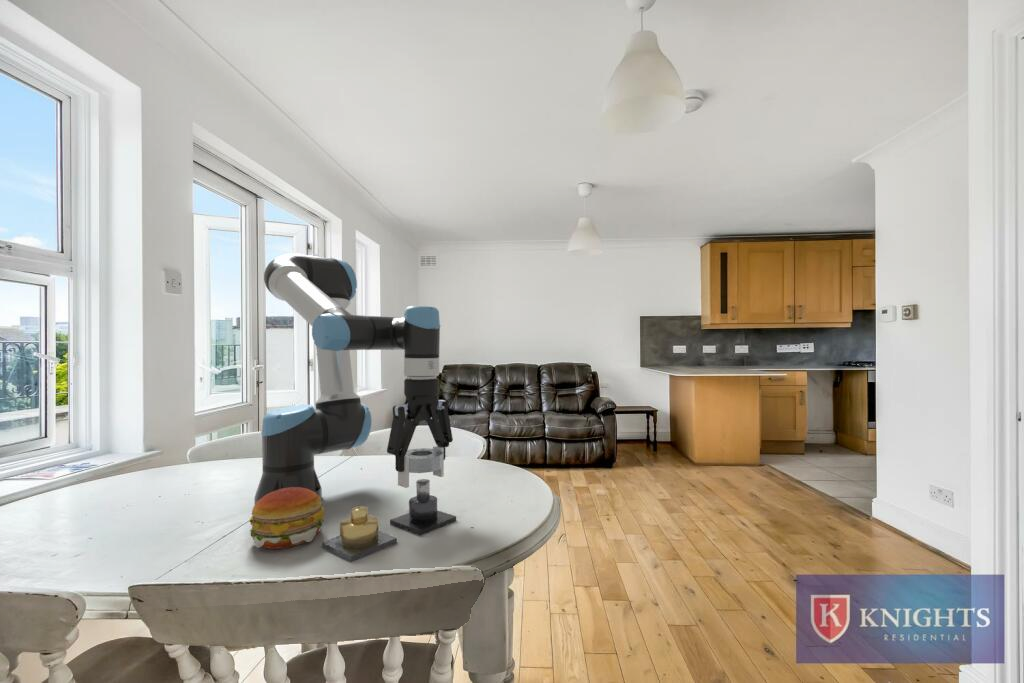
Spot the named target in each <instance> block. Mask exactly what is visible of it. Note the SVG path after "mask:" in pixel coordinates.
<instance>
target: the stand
mask: <svg viewBox="0 0 1024 683" xmlns="http://www.w3.org/2000/svg"><path fill="white" fill-rule="evenodd" d="M430 481H431V480H430V479H426V478H422V479H421V478H420V479H417V480H416V481H415V482H416V496H413V497H410V499H409V500H408V501H409V502H408V513H405V514H402V515H400V516H397V517H394V518H391V519H389V525H390V526H393V527H396V528H399V529H402V530H404V531H406V532H410V533H412V534H414V535H418V536H420V537H421V536H424V535H425V534H428V533H430V532H433V531H435V530H438V529H440V528H443V527H445V526H448V525H450V524H452V523H455V522H457V516H456V515H453V514H450V513H447V512H443V511H441V510H438V497H436V495H431V493H430V488H431V487H430V485H431V484H430Z"/></svg>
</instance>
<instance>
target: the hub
mask: <svg viewBox="0 0 1024 683" xmlns="http://www.w3.org/2000/svg"><path fill="white" fill-rule="evenodd" d="M368 512H369V511H368V506H365V505H360V506H359V505H358V506H355V507H352V508H351V509H350V516H351V517H347V518H345V519H343V520H342V521H340V524H339V532H340V533H339V535H337V536H335V537H332V538H330V539H326V540H324V541H321V548H322V549H324V550H326V551H327V552H330V553H332V554H334V555H336V556H337V557H340V558H342V559H344V560H345V561H348V562H350V563H352V562H354V561H357V560H360V559H361V558H362V559H363V558H364V557H367V556H369V555H372V554H374V553H376V552H379V551H381V550H383V549H386V548H388V547H391V546H393V545H396V544H398V537H396V536H393V535H391V534H388V533H386V532H383V531H382V530H379V518H378V517H377V516H374V515H370V514H369V513H368Z"/></svg>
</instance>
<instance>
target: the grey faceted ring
mask: <svg viewBox="0 0 1024 683" xmlns="http://www.w3.org/2000/svg"><path fill="white" fill-rule="evenodd" d="M406 455H408V456H409V474H423V473H425V474H426V473H433V471H437V470H440V469H441V468H442V467H443V452H442V451H441V450H437V449H433V448H426V447H425V448H424V447H423V448H412V449H408V450H407V452H406Z"/></svg>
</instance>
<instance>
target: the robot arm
mask: <svg viewBox="0 0 1024 683" xmlns="http://www.w3.org/2000/svg"><path fill="white" fill-rule="evenodd" d="M263 281H264V282H263V283H264V285H265V287H266V289H267V290H268V291H269V292H270V293H271V295H272V296H273V297H275V299H277V300H281V301H284V302H286V303H287V304H288V305H289V306H290V307H291V308H292V309H293V310H294V311H296V313H298V315H299V316H300V317H302V319H304V320H305V321H306V322H307V323H308V324H309V325H310V326H311V336H312V337H311V338H312V340H313V341H314V345H315V348H316V358H317V371H318V380H319V391H320V393H319V394H320V397H319V398H318V400H316V402H315V403H314V405H315V408H314V406H313V405H312V404H299V405H291V406H286V407H281V408H277V409H273V410H271V411H270V412H268V413H266V414H265V415H264V417H263V419H262V426H261V432H260V433H261V439H262V440H261V442H262V446H261V447H262V449H261V450H262V454H261V455H262V463H261V464H262V475H261V477H260V480H259V483H258V485H257V489H256V492H255V495H254V502H253V503H254V505H255V504H256V503H257V501H259V500H260V499H261V498H262V497H264V496H265V495H267V494H269V493H270V492H273V491H276V490H279V489H283V488H289V487H301V488H306V489H309V490H311V491H313V492H316V494H317V495H318V496H319V497H320V498H321V499H322V498H323V496H322V495H323V493H322V492H323V490H322V486H321V483H320V481H319V478H318V475H317V471H316V469H315V456H316V455H320V454H328V453H332V452H339V451H344V450H346V451H347V450H350V449H353V448H357V447H361V446H362V445H363V444H364V443H365V442H366V441H367V440H368V437H369V436H370V433H371V429H372V422H373V420H372V414H371V411H370V410H369V407H368V405H366V404H363V403H362V402H361V397H360V396H359V395H358V394H357V393H355V391H354V380H353V372H352V371H353V370H352V360H351V352H350V351H365V350H367V351H368V350H370V351H376V350H383V351H384V350H386V351H389V350H391V351H394V350H395V351H396V350H402V351H403V350H404V356H403V357H404V361H403V362H404V363H403V365H404V366H403V368H404V369H403V375H404V376H405V377H406V378H405V379H404V380H403V381H404V383H403V384H404V386H403V390H404V391H403V393H404V396H405V401H404V404H401V405H393V407H392V423H391V427H390V431H389V437H388V438H389V439H388V443H387V448H386V452H387V454H390V455H394V456H395V471H396V472H397V486H400V487H402V488H405V489H407V488H409V487H410V473H409V456H408V455H406V452H407V450H409V446H410V444H411V442H412V438H413V436H414V434H415V431H416V428H417V426H419V424H420V422H423V421H425V422H426V423H427V426H428V429H429V430H430V433H431V435H432V438H433V441H434V443H435V445H433V448H432V449H437V450H441V451H442V452H443V467H442V468H441V469H440V470H437V471H433V472H432V475H433V476H436V477H440V478H443V477H444V474H445V473H444V470H445V468H444V466H445V465H444V463H445V461H446V448H449V446H450V443H453V434H452V426H451V422H450V417H449V401H448V400H444V399H439V398H438V396H439V394H440V379H439V378H438V377H439V375H440V344H441V342H440V333H441V332H440V331H441V329H440V328H441V322H440V310H439V309H438V308H436V306H423V305H421V306H419V305H417V306H415V305H414V306H411V305H410V306H407V307H406V308H405V309H404V313H403V314H404V315H403V316H375V315H360V314H357V315H356V314H351V313H350V312H349V311H347V310H346V309H347V308H348V307H349V306H350V305H351V300H353V299H354V297H355V295H356V293H357V290H356V289H357V288H358V284H357V283H358V282H357V281H358V280H357V275H356V273H355V270H354V269H353V267H352V265H350V264H349V263H348V262H347V261H345V260H341V259H336V258H333V257H329V258H328V257H322V256H321V257H320V256H314V255H307V254H301V253H287V254H282V255H279V256H277V257H275V258H273V259H272V260H271V261H270V262H269V263H268V264H267V266H266V267H265V270H264V272H263ZM254 505H253V506H254Z"/></svg>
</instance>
